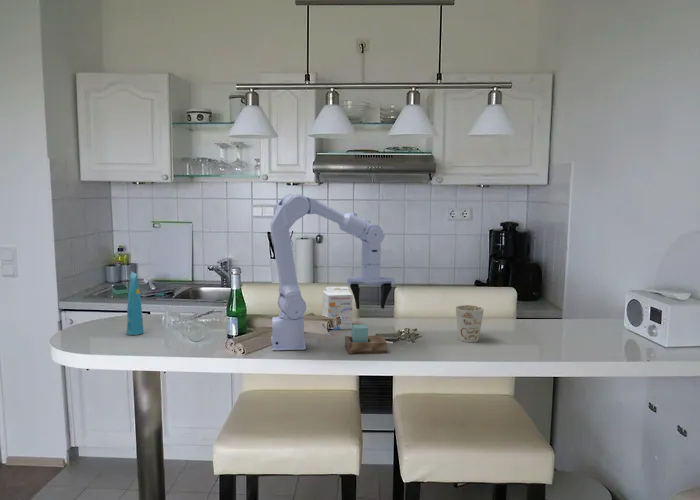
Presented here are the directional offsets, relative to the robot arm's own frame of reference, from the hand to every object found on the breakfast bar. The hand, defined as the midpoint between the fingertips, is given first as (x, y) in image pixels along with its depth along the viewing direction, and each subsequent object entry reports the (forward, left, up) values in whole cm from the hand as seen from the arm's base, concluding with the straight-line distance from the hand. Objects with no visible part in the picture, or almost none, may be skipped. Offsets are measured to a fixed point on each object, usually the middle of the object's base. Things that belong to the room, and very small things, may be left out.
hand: (370, 308), depth 160 cm
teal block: (-5, -10, -9) cm, 14 cm away
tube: (-72, +14, -10) cm, 74 cm away
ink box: (-8, +17, -10) cm, 21 cm away
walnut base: (-3, -10, -10) cm, 14 cm away
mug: (+32, -1, -10) cm, 34 cm away
